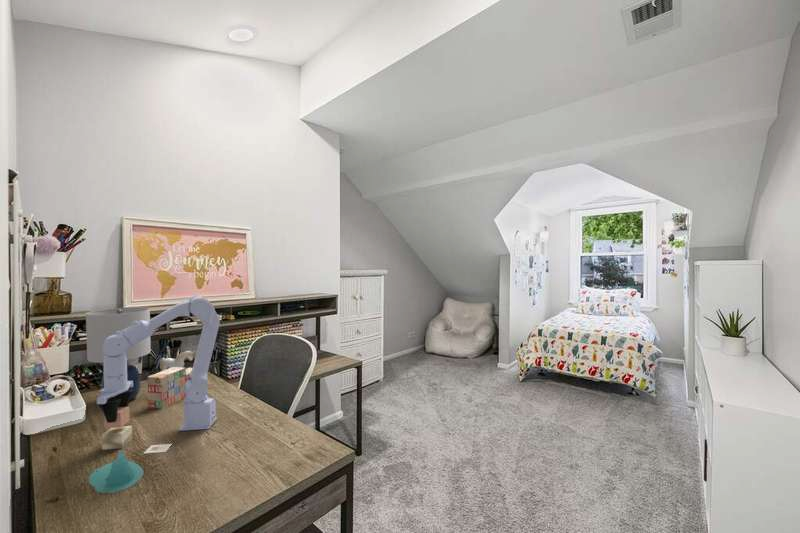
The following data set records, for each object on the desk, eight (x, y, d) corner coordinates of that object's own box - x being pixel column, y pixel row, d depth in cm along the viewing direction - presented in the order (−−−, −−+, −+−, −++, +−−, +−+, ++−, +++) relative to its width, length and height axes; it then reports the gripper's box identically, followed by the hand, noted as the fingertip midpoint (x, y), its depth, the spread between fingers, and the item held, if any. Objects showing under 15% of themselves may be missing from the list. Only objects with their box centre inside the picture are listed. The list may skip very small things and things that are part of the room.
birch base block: (132, 439, 118) (132, 425, 117) (122, 448, 112) (121, 433, 112) (113, 441, 117) (112, 426, 117) (102, 450, 111) (101, 435, 111)
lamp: (152, 402, 147) (149, 310, 145) (85, 415, 135) (82, 315, 134) (151, 387, 163) (149, 304, 162) (92, 397, 152) (89, 308, 151)
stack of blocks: (190, 388, 163) (189, 360, 162) (202, 389, 162) (202, 361, 161) (148, 407, 142) (147, 376, 141) (162, 409, 141) (161, 377, 140)
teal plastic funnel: (131, 454, 109) (131, 425, 109) (156, 480, 97) (155, 447, 96) (78, 473, 100) (77, 441, 100) (97, 504, 87) (96, 468, 87)
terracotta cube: (129, 420, 117) (129, 406, 117) (121, 427, 112) (120, 412, 112) (114, 421, 116) (113, 407, 116) (104, 428, 112) (104, 413, 112)
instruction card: (172, 444, 114) (172, 443, 114) (165, 452, 110) (165, 451, 110) (151, 445, 113) (151, 445, 113) (143, 453, 109) (143, 452, 109)
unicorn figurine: (194, 381, 172) (193, 352, 171) (151, 381, 171) (150, 352, 171) (201, 376, 179) (201, 348, 178) (161, 376, 178) (160, 348, 178)
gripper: (116, 368, 120) (117, 409, 121) (84, 383, 106) (85, 430, 106) (139, 367, 121) (140, 407, 122) (111, 382, 107) (112, 428, 107)
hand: (116, 418), depth 114 cm, fingers closed on terracotta cube, 4 cm apart
